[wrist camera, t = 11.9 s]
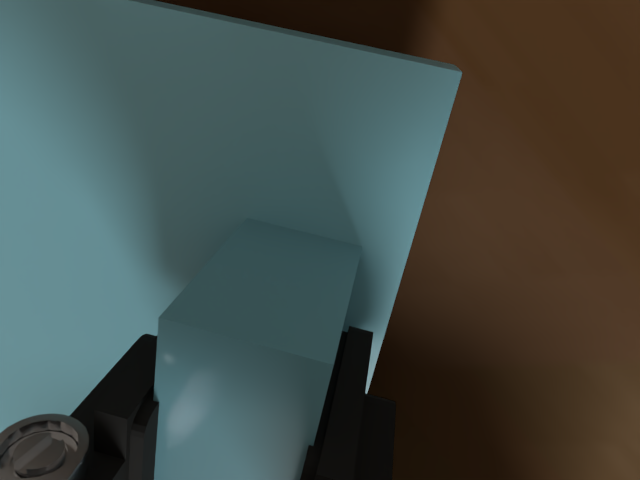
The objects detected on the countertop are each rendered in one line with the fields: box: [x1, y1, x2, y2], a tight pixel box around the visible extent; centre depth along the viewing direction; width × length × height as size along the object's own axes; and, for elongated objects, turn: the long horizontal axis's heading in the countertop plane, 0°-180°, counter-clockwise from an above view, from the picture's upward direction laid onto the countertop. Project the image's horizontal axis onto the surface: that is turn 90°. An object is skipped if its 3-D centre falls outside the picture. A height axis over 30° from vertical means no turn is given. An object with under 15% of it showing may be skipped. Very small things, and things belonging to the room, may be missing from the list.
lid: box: [0, 0, 462, 480], centre depth 11 cm, size 15×13×6 cm
